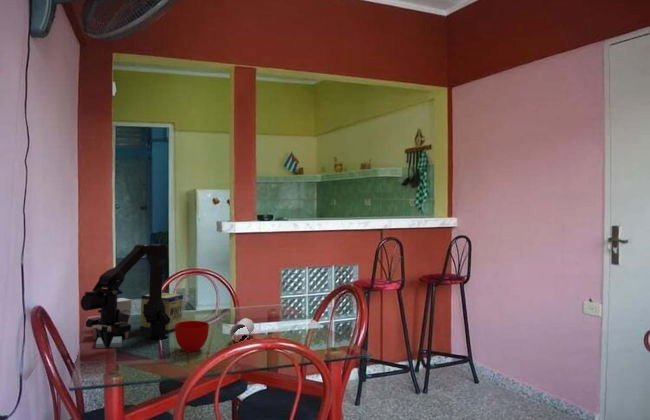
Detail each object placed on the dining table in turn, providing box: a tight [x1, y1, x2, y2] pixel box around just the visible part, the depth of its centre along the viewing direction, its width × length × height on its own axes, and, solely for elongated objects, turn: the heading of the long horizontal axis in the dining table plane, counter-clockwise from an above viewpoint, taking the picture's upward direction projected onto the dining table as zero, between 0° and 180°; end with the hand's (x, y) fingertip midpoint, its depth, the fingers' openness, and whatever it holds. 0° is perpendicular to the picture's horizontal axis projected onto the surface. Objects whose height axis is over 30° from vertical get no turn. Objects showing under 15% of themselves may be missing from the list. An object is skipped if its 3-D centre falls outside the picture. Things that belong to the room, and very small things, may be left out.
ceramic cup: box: [174, 320, 210, 353], centre depth 206 cm, size 13×17×10 cm
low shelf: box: [92, 322, 130, 341], centre depth 219 cm, size 8×13×5 cm, turn 109°
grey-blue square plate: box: [95, 336, 123, 349], centre depth 208 cm, size 10×9×2 cm
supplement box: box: [117, 297, 132, 325], centre depth 236 cm, size 7×7×13 cm
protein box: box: [139, 292, 184, 334], centre depth 236 cm, size 10×16×16 cm
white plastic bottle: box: [229, 317, 255, 339], centre depth 227 cm, size 8×19×8 cm, turn 176°
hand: (107, 347), depth 198 cm, fingers closed
